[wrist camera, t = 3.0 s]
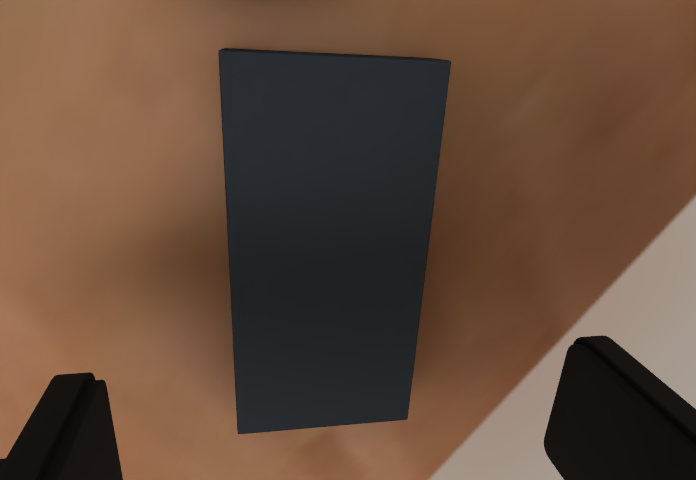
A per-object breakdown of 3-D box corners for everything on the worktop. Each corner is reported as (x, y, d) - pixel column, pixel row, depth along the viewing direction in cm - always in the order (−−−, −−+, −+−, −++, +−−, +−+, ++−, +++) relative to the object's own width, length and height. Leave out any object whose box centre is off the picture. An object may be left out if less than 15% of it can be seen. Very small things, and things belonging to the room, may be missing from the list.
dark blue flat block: (431, 58, 15) (451, 60, 14) (395, 388, 20) (407, 420, 18) (223, 48, 14) (218, 49, 12) (239, 400, 19) (237, 434, 17)
